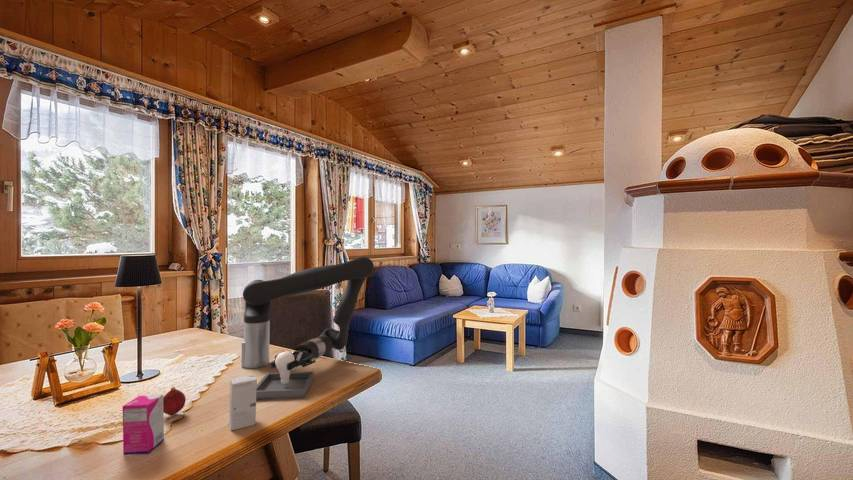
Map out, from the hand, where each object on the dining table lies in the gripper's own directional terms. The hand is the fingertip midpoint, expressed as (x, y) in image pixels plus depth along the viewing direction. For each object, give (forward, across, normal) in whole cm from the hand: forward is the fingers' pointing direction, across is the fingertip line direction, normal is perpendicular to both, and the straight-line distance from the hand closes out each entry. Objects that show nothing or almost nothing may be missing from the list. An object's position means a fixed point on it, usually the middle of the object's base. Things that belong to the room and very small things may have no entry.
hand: (280, 366), depth 118 cm
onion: (+23, -17, +8) cm, 30 cm away
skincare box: (+21, +5, +8) cm, 23 cm away
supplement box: (+37, -9, +8) cm, 39 cm away
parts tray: (-2, 0, +8) cm, 9 cm away
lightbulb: (-2, 0, +7) cm, 8 cm away
